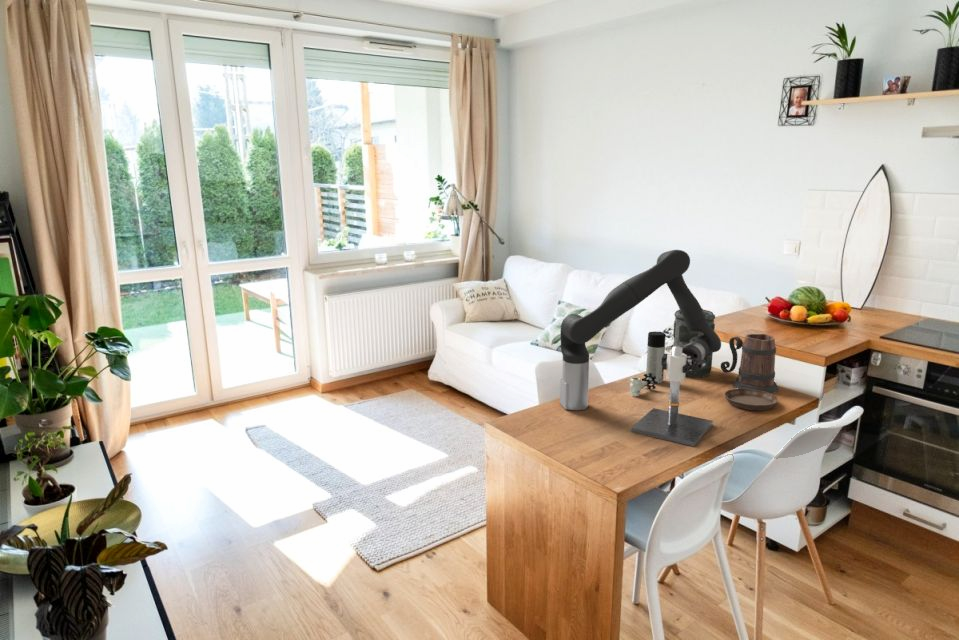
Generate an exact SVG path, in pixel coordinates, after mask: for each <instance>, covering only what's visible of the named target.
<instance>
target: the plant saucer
mask: <svg viewBox="0 0 959 640" xmlns="http://www.w3.org/2000/svg"><path fill="white" fill-rule="evenodd" d="M723 395H724V397H725V399H726V400H727V402H728V403H729V404H731V405H732V406H733V405H734V407H735V408H739V409H742V410H747V411H766V410H770V409H772V408H773V407H774V406H775V405H776V404H777V403H778V401H779V399H778V397H777V396H776V395H775V394H774V393H768V392H764V391H760V390H754V389H737V388H732V389H728V390H726V391H725V392H724V394H723Z"/></svg>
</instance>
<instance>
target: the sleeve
mask: <svg viewBox="0 0 959 640" xmlns="http://www.w3.org/2000/svg"><path fill="white" fill-rule="evenodd" d="M666 354H667V368H666V372H665V379H666V380H668V381H675V382H679V381H680V382H684V381H685V380H686V376H685V373H683V366H684V365H685V364H686V358H687V355H685V354H684V353H682V356H679V357H677V356H672V351H671V352H668V353H666Z"/></svg>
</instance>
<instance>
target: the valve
mask: <svg viewBox="0 0 959 640" xmlns="http://www.w3.org/2000/svg"><path fill="white" fill-rule="evenodd" d="M648 375H649V376H648ZM648 375H647V374H646V373H645V374H643V378H640V377H637V376H634V377H631V378H630V381H629V382H630V384H629V395H630V396H631V395H632V396H631V397H633V396H638V397H640V396H641V390H643V389H644V388H645V387H647V388H646V389H647V390H648V389H650V390H654V389H657V388H656V386H657V385H658V382H657V381H655V379H656V376H653V377H652V373H649V374H648ZM648 377H650V378H652V380H651V379H647V378H648ZM646 379H647V380H646ZM652 381H653V383H652ZM651 384H652V385H651ZM639 395H640V396H639Z"/></svg>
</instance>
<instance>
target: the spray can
mask: <svg viewBox="0 0 959 640" xmlns="http://www.w3.org/2000/svg"><path fill="white" fill-rule="evenodd" d="M646 345H647V347H646V348H647V350H646V353H647V354H646V372H645V374H647V375H648V374H649V373H652V377H653V376H656V379H655V381H657V382H658V384H659V383H660V384H662V383H663V382H664V374H665V373H664V368H663V366H662V365H661V362H662V357H663V355H664V354H666V353H665V351H666V333H665V332H662V331H649V332H648V333H647V344H646ZM648 376H649V375H648ZM647 379H651V380H652V378H650V377H648V378H647ZM647 379H646V380H647ZM651 384H653V381H652V383H651ZM658 384H657V385H658Z"/></svg>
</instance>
